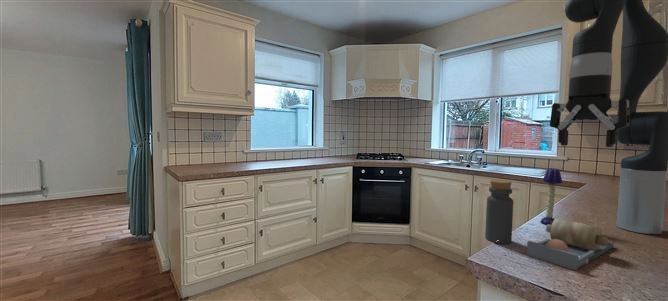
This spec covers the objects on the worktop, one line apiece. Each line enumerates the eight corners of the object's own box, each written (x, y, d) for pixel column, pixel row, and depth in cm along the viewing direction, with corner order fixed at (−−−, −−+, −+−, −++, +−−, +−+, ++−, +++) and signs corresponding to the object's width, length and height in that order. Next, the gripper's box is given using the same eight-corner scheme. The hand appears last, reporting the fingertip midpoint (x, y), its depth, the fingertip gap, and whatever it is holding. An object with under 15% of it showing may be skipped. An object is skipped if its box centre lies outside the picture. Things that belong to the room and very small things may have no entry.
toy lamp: (562, 224, 91) (565, 168, 90) (555, 227, 88) (558, 169, 87) (544, 220, 95) (546, 167, 94) (537, 223, 92) (540, 168, 91)
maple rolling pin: (542, 241, 75) (543, 218, 74) (552, 237, 78) (553, 215, 78) (600, 257, 65) (602, 231, 65) (609, 251, 69) (611, 227, 68)
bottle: (488, 234, 82) (490, 178, 81) (513, 239, 78) (516, 181, 77) (482, 240, 77) (485, 181, 76) (508, 246, 73) (511, 184, 72)
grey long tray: (568, 236, 81) (569, 225, 81) (613, 247, 74) (614, 234, 73) (526, 255, 68) (527, 241, 68) (575, 270, 61) (576, 255, 61)
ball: (544, 258, 68) (551, 245, 69) (565, 265, 64) (572, 251, 66) (540, 245, 66) (548, 233, 68) (562, 251, 63) (569, 238, 65)
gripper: (636, 73, 67) (631, 147, 68) (560, 81, 79) (557, 144, 80) (626, 69, 63) (621, 148, 64) (547, 78, 75) (544, 145, 76)
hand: (585, 146), depth 72 cm, fingers open, 8 cm apart
